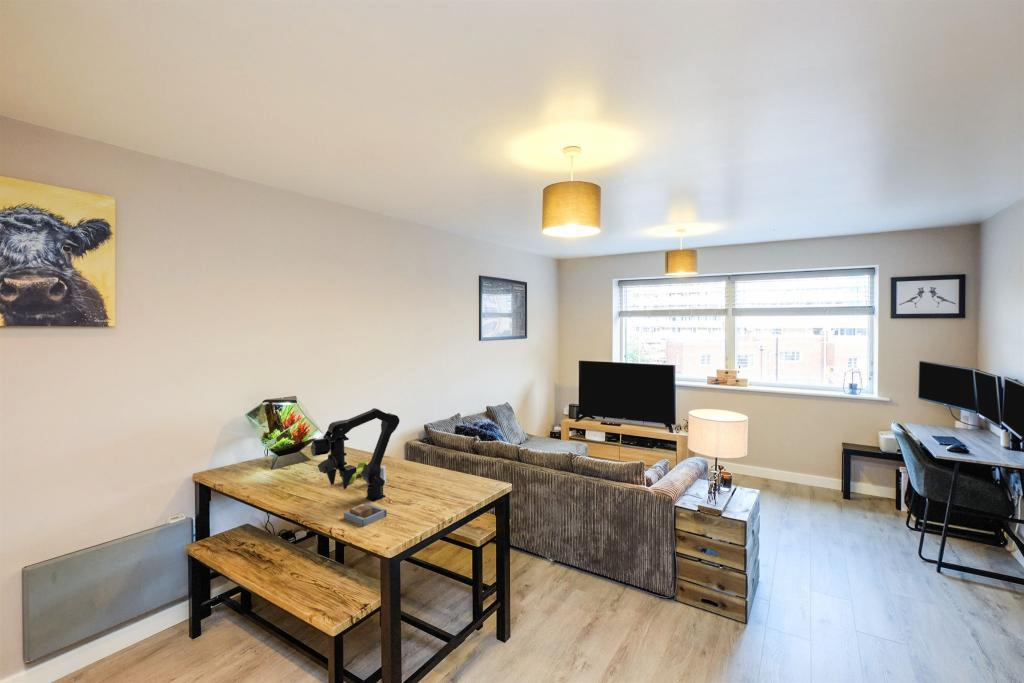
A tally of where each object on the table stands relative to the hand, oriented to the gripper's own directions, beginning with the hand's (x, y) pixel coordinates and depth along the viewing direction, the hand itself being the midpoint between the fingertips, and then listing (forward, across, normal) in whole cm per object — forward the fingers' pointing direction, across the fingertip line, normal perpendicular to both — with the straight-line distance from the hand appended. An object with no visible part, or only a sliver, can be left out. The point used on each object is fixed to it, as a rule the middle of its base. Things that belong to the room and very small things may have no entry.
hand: (338, 486), depth 202 cm
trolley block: (+10, +16, 0) cm, 19 cm away
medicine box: (+10, -10, +28) cm, 31 cm away
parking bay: (+9, +17, 0) cm, 20 cm away
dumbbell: (+10, -25, +27) cm, 38 cm away
